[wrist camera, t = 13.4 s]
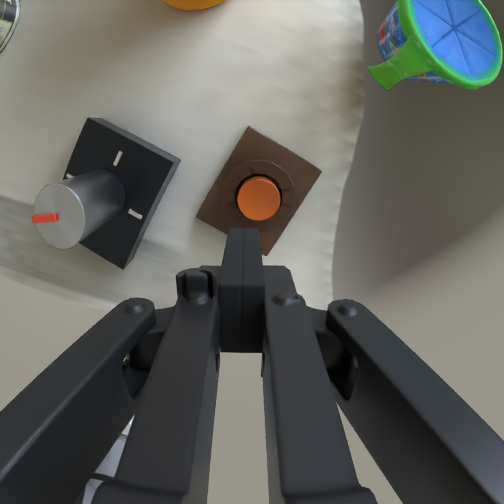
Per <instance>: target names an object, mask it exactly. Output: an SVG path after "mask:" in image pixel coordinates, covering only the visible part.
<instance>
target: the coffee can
mask: <svg viewBox="0 0 504 504" xmlns="http://www.w3.org/2000/svg"><path fill="white" fill-rule="evenodd" d="M19 13H20V5H19V1H18V0H0V52H1V51H2V49H3V48H4V47H5V45H6V44H7V42H8V41H9V39H10V37H11V36H12V34H13V32H14V29H15V27H16V25H17V21H18V18H19Z"/></svg>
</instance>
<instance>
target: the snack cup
mask: <svg viewBox="0 0 504 504" xmlns="http://www.w3.org/2000/svg"><path fill="white" fill-rule="evenodd" d="M377 41H378V47H379V51H380V53H381V55H382V58H383V59H384V61H385V62H383V63H382V64H380V65H370V66H368V70H369V72H370V73H371V75H372V76H373V77H374V78H375V79H376V81H377V82H378V83H379V84H380V85H381V86H382V87H383V88H384V89H385V90H388V91H389V90H390V89H391V88H392V87H393V86H394V85H395V84H397V83H398V82H400V81H401V80H404V79H408V80H411V81H416V82H434V83H435V82H439V83H451V84H454V85H457V86H461V87H463V88H465V89H478V87H480V86H484V85H487V84H489V83H491V82H492V81H493V80H494V79H495V78H496V77H497V75H498V73H499V71H500V68H501V64H502V45H501V40H500V37H499V33H498V30H497V28H496V26H495V23H494V21H493V20H492V17H491V16H490V14H489V12H488V11H487V9H486V8H485V7H484V5H483V4H482V3H481V1H480V0H397V2H396V3H395V5H394V6H393V8H392V9H391V11H390V12H389V14H388V15H387V17H386V18H385V20H384V21H383V23H382V24H381V25H380V28H379V30H378V34H377Z"/></svg>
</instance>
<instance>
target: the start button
mask: <svg viewBox="0 0 504 504" xmlns="http://www.w3.org/2000/svg"><path fill="white" fill-rule="evenodd" d="M237 202H238V206H239V209H240V211H241V212H242V213H243V214H244V215H245V216H246V217H248V218H249V219H252V220H257V221H261V220H266V219H268V218H270V217H272V216H273V215H274V214H275V213H276V212H277V210H278V208H279V206H280V194H279V191H278V189H277V187H276V185H275V184H274V183H273V182H272V181H271V180H269V179H268V178H265V177H261V176H256V177H252V178H249V179H248V180H246V181H245V182H244V183H243V184H242V185H241V187H240V189H239V192H238V197H237Z"/></svg>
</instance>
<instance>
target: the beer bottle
mask: <svg viewBox="0 0 504 504" xmlns="http://www.w3.org/2000/svg"><path fill="white" fill-rule="evenodd" d="M162 1H163V2H164V3H166V4H168V5H169V6H171V7H174V8H177V9H182V10H202V9H206V8H210V7H213V6H216V5H218V4H220V3H222V2H224V1H226V0H162Z"/></svg>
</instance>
